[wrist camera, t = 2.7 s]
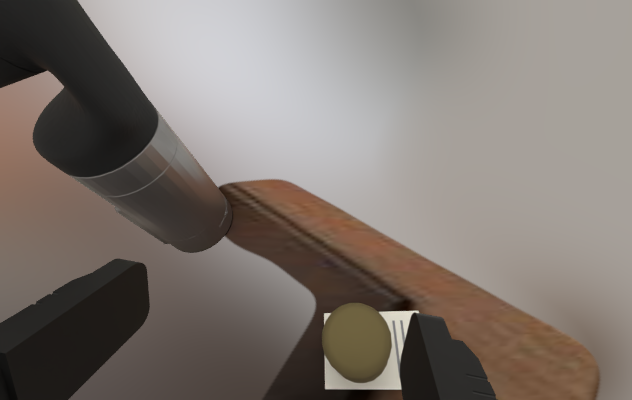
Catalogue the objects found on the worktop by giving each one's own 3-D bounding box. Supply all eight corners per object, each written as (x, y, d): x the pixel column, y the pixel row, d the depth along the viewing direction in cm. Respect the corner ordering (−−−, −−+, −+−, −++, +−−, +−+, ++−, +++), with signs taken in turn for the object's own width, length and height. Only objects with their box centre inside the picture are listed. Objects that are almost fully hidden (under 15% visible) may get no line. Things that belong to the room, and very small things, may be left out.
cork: (346, 395, 28) (336, 405, 19) (319, 333, 31) (300, 315, 22) (401, 364, 29) (418, 359, 20) (369, 307, 32) (371, 278, 23)
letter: (325, 389, 29) (325, 389, 29) (324, 313, 33) (324, 313, 32) (431, 389, 28) (431, 389, 28) (418, 311, 31) (418, 310, 31)
